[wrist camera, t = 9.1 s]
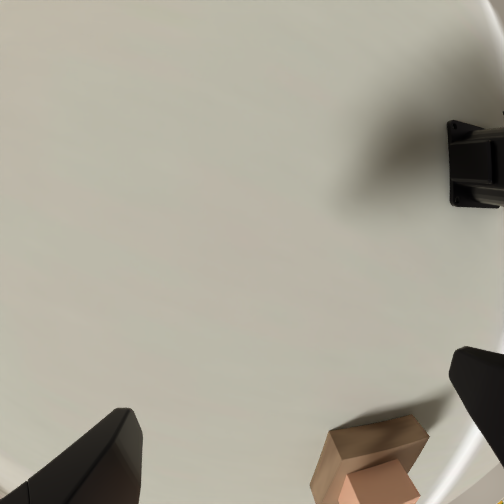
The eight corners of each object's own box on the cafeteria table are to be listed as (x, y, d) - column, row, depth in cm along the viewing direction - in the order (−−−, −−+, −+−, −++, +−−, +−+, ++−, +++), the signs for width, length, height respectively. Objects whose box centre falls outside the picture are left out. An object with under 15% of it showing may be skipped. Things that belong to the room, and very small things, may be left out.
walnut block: (410, 412, 24) (429, 436, 20) (382, 467, 26) (395, 490, 22) (327, 428, 23) (341, 459, 19) (308, 482, 25) (317, 510, 21)
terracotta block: (397, 458, 20) (420, 495, 15) (384, 486, 21) (402, 520, 16) (346, 474, 19) (365, 516, 15) (337, 500, 21) (352, 538, 16)
